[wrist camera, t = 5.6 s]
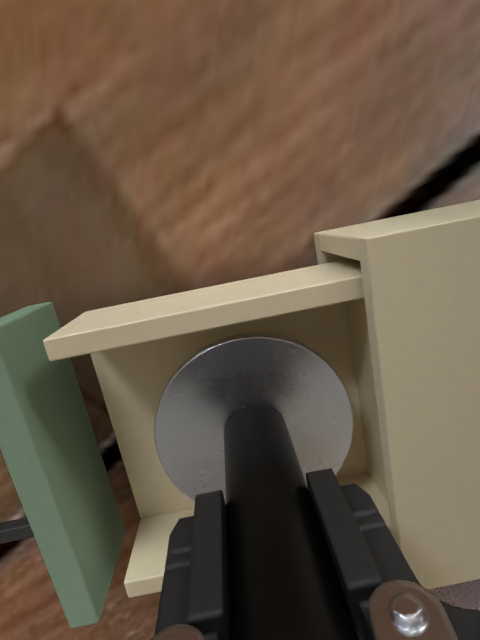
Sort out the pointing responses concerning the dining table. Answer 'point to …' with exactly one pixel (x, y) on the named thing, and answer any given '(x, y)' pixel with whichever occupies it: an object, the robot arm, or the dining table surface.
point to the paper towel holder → (263, 475)
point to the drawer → (153, 414)
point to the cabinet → (425, 377)
